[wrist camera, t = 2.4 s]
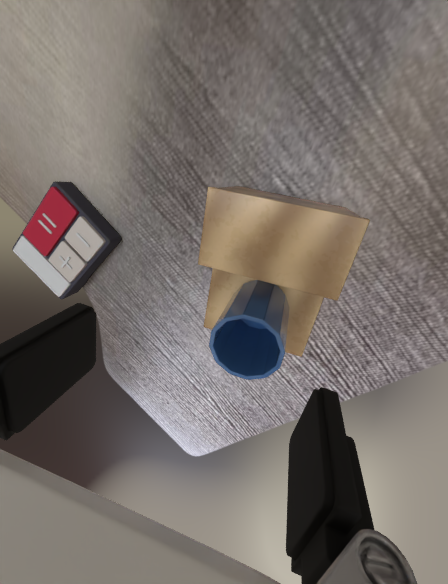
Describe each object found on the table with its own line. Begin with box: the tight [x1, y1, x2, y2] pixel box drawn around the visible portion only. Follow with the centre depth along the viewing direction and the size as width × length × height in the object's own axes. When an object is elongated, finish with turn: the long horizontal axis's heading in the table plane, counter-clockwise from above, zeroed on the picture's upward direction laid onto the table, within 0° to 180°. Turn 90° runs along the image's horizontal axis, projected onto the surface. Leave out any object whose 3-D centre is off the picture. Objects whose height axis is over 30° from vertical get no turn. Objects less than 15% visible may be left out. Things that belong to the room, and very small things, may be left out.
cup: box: [209, 280, 289, 380], centre depth 28 cm, size 7×7×10 cm
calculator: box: [13, 182, 121, 299], centre depth 41 cm, size 11×4×15 cm
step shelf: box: [198, 186, 370, 357], centre depth 30 cm, size 13×18×11 cm
